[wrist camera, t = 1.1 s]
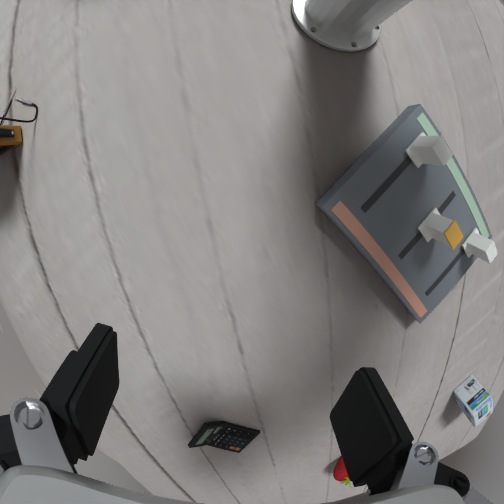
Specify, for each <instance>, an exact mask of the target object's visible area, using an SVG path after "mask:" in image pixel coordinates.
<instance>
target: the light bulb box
mask: <svg viewBox="0 0 504 504" xmlns="http://www.w3.org/2000/svg"><path fill="white" fill-rule="evenodd" d="M454 394H455V398H456V401H457V404H458V405H459V407H460V408H461V409H462V411H463V412H464V414H465V415H466V416H467V418H468V419H469V421H470V422H471V423H472V425H473V426H474V427H476V426H478V425H479V424H480V423H481V422H482V421H483V420H485V419H486V418H487V417H488V416H489V415H490V414H491V413H492V412H493V398H492V397H491V396H490V395H489V394H488V393H487V391H486V390H485V389H484V388H483V387H482V386H481V384H480V383H479V382H478V381H477V380H476V379H475V378H474V377H473V375H471V376H470V377H468V378H467V379H466V380H465V381H464V382H463V383H462V384H461V385H460V386H458V387H457V388H456V389H455V390H454Z"/></svg>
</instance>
